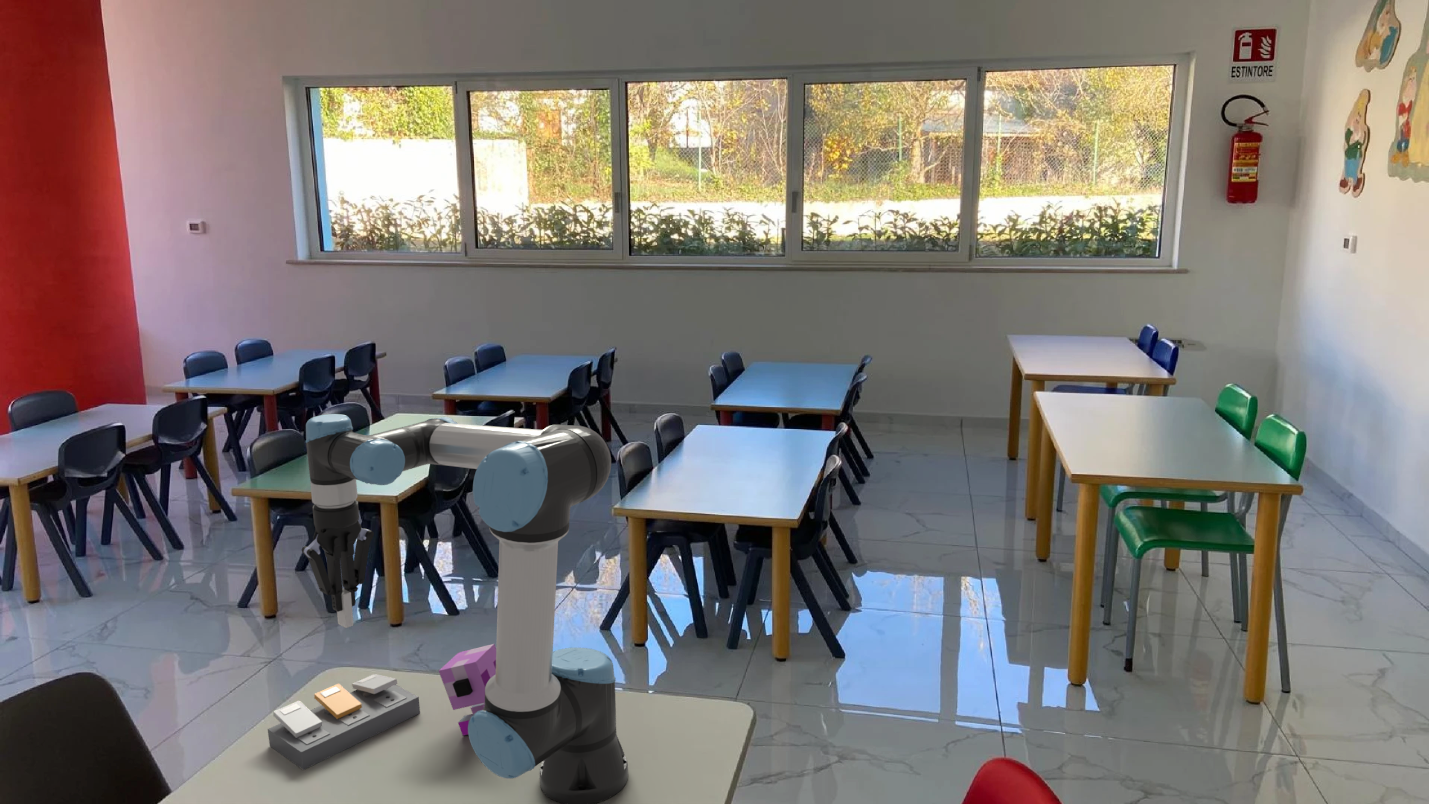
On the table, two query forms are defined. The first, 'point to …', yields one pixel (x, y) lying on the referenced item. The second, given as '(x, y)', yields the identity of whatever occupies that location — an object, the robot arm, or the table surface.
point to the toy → (469, 680)
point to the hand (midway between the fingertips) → (345, 624)
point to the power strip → (345, 726)
